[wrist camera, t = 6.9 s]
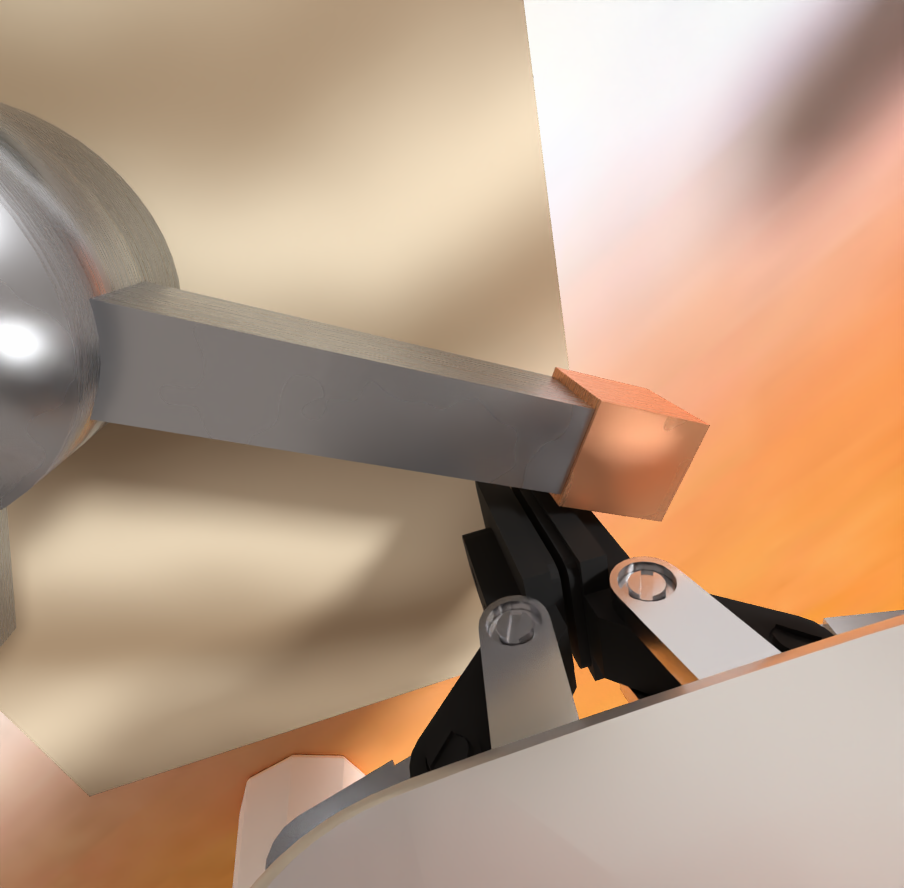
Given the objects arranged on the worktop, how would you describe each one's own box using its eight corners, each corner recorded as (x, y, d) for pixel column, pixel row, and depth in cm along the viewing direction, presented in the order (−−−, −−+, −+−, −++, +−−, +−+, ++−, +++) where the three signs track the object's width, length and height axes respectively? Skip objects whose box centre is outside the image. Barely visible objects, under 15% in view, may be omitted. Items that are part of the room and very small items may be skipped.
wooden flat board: (-837, -273, 7) (-1638, -602, 4) (427, -482, 8) (467, -846, 5) (111, 749, 17) (67, 845, 15) (582, 597, 19) (620, 661, 16)
